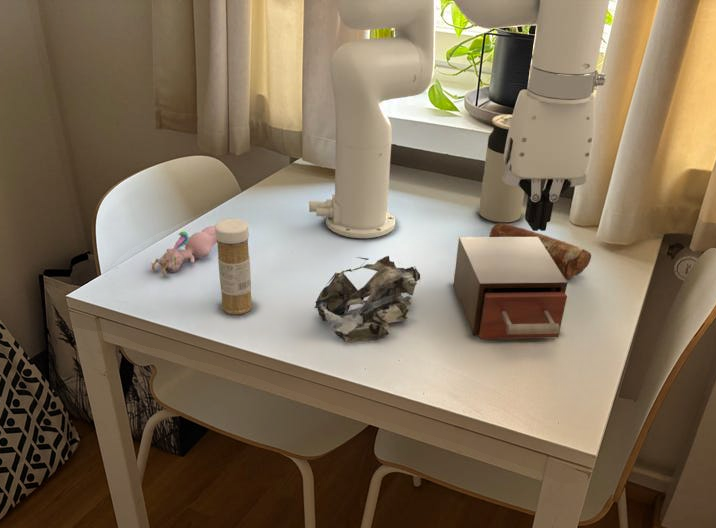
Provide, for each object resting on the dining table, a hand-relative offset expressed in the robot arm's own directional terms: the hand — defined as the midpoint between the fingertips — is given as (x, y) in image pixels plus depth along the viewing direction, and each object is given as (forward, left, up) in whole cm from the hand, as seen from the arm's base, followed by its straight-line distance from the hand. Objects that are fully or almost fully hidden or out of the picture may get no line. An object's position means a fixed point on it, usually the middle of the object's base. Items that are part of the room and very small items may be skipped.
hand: (536, 226), depth 101 cm
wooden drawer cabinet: (0, +8, -17) cm, 19 cm away
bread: (+9, +23, -18) cm, 30 cm away
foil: (-21, +5, -18) cm, 28 cm away
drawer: (0, +2, -16) cm, 17 cm away
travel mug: (+8, +42, -18) cm, 46 cm away
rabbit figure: (-48, +25, -18) cm, 56 cm away
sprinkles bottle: (-40, +9, -18) cm, 45 cm away
